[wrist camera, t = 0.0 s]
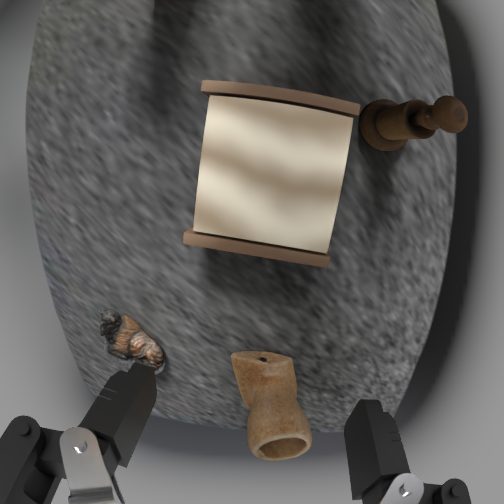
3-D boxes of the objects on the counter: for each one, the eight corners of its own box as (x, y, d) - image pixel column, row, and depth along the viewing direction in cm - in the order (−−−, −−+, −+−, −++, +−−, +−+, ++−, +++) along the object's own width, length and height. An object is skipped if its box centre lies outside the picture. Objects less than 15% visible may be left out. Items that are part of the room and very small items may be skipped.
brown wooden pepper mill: (410, 143, 32) (496, 148, 15) (369, 156, 33) (441, 166, 16) (393, 96, 30) (471, 67, 13) (350, 108, 31) (410, 76, 15)
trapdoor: (221, 104, 31) (209, 95, 25) (340, 123, 30) (353, 118, 24) (206, 217, 35) (193, 230, 30) (319, 236, 35) (326, 253, 29)
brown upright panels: (219, 94, 32) (202, 80, 24) (342, 114, 32) (360, 104, 24) (202, 223, 38) (183, 243, 30) (318, 243, 38) (327, 268, 30)
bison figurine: (169, 362, 48) (174, 321, 44) (156, 390, 42) (158, 349, 38) (111, 340, 48) (109, 297, 44) (94, 363, 42) (88, 320, 38)
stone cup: (308, 402, 48) (312, 468, 34) (245, 405, 50) (236, 470, 36) (306, 341, 43) (313, 415, 29) (231, 346, 45) (213, 418, 31)
